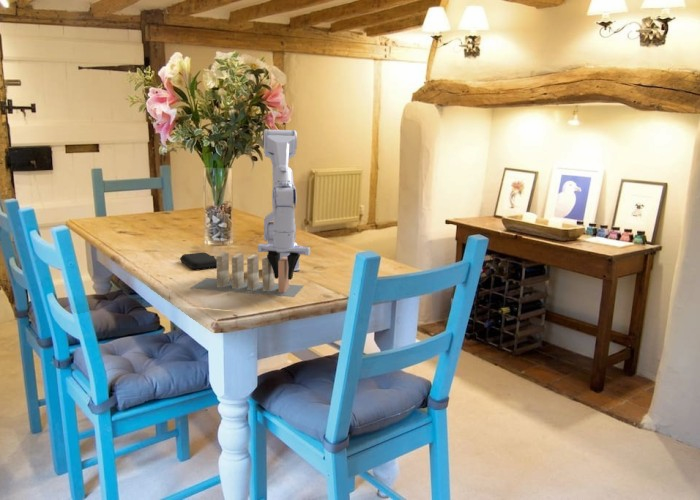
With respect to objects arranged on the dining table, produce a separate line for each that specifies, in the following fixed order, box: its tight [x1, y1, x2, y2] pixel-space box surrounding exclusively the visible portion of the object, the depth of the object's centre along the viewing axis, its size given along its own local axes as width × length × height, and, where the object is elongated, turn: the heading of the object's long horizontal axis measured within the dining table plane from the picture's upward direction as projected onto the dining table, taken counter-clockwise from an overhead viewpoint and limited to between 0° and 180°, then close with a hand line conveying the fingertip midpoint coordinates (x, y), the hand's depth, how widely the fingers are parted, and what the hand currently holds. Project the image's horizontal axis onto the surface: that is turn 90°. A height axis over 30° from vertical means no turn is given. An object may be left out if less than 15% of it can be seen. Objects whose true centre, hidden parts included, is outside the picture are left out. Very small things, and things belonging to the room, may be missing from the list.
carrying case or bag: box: [179, 251, 217, 271], centre depth 189 cm, size 11×3×15 cm
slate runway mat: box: [190, 277, 304, 298], centre depth 166 cm, size 30×11×1 cm, turn 80°
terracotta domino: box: [277, 257, 290, 293], centre depth 163 cm, size 2×5×9 cm, turn 170°
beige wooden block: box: [215, 251, 230, 288], centre depth 166 cm, size 2×5×9 cm, turn 170°
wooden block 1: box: [246, 253, 260, 290], centre depth 165 cm, size 2×5×9 cm, turn 170°
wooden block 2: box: [261, 255, 275, 291], centre depth 164 cm, size 2×5×9 cm, turn 170°
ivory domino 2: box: [231, 252, 245, 289], centre depth 165 cm, size 2×5×9 cm, turn 170°
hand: (283, 278), depth 163 cm, fingers open, 3 cm apart
